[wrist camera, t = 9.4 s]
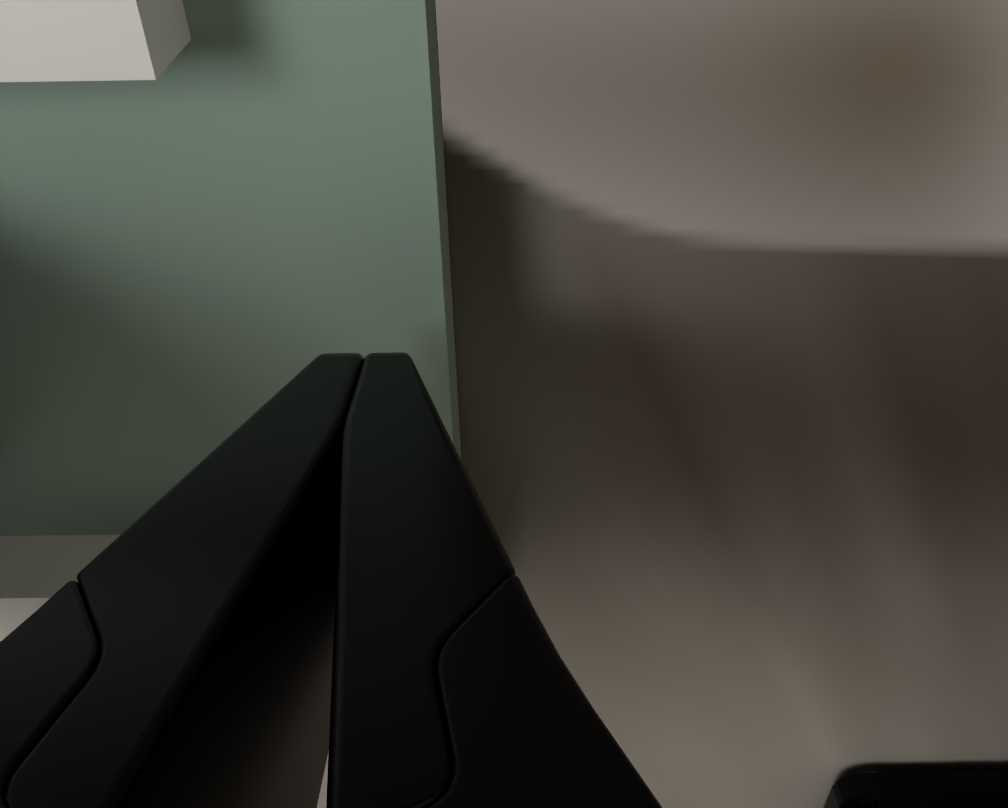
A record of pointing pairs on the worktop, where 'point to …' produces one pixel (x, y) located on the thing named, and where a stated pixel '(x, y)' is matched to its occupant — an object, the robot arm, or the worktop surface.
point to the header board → (199, 241)
